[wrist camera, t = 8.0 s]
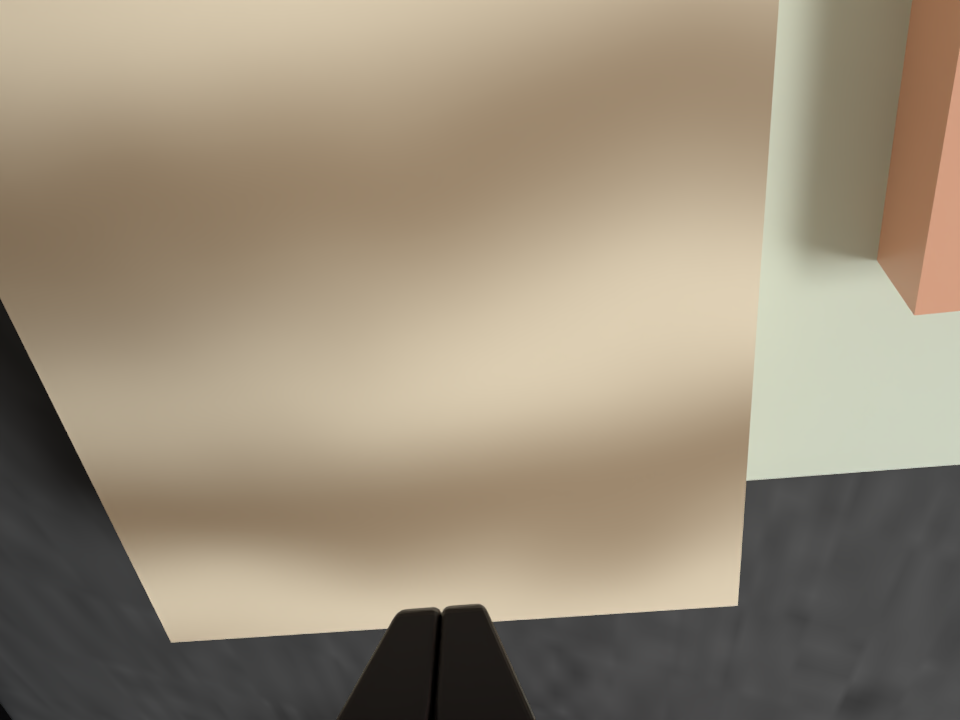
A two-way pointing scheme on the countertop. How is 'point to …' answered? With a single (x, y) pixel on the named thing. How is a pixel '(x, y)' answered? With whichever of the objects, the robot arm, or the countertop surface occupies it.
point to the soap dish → (395, 295)
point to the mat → (841, 264)
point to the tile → (926, 165)
